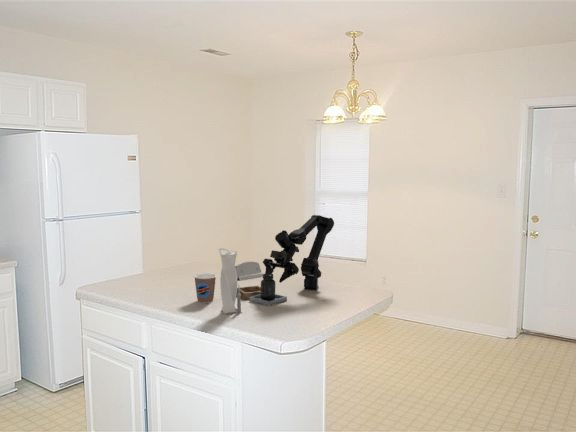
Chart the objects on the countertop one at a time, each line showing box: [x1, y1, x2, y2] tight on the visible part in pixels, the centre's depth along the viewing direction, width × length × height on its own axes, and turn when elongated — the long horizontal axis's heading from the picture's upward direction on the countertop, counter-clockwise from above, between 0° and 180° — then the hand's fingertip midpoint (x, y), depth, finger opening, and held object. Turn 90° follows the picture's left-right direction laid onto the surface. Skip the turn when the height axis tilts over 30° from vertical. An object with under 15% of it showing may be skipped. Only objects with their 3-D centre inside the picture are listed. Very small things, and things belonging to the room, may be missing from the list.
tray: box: [249, 293, 288, 307], centre depth 237 cm, size 12×12×2 cm
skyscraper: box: [218, 247, 243, 316], centre depth 218 cm, size 8×8×28 cm
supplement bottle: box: [260, 272, 276, 301], centre depth 236 cm, size 7×7×12 cm
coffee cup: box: [193, 273, 217, 304], centre depth 236 cm, size 10×10×12 cm
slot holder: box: [237, 285, 261, 301], centre depth 247 cm, size 12×12×3 cm
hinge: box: [235, 261, 264, 281], centre depth 287 cm, size 17×5×10 cm, turn 129°
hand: (272, 280), depth 238 cm, fingers open, 9 cm apart
